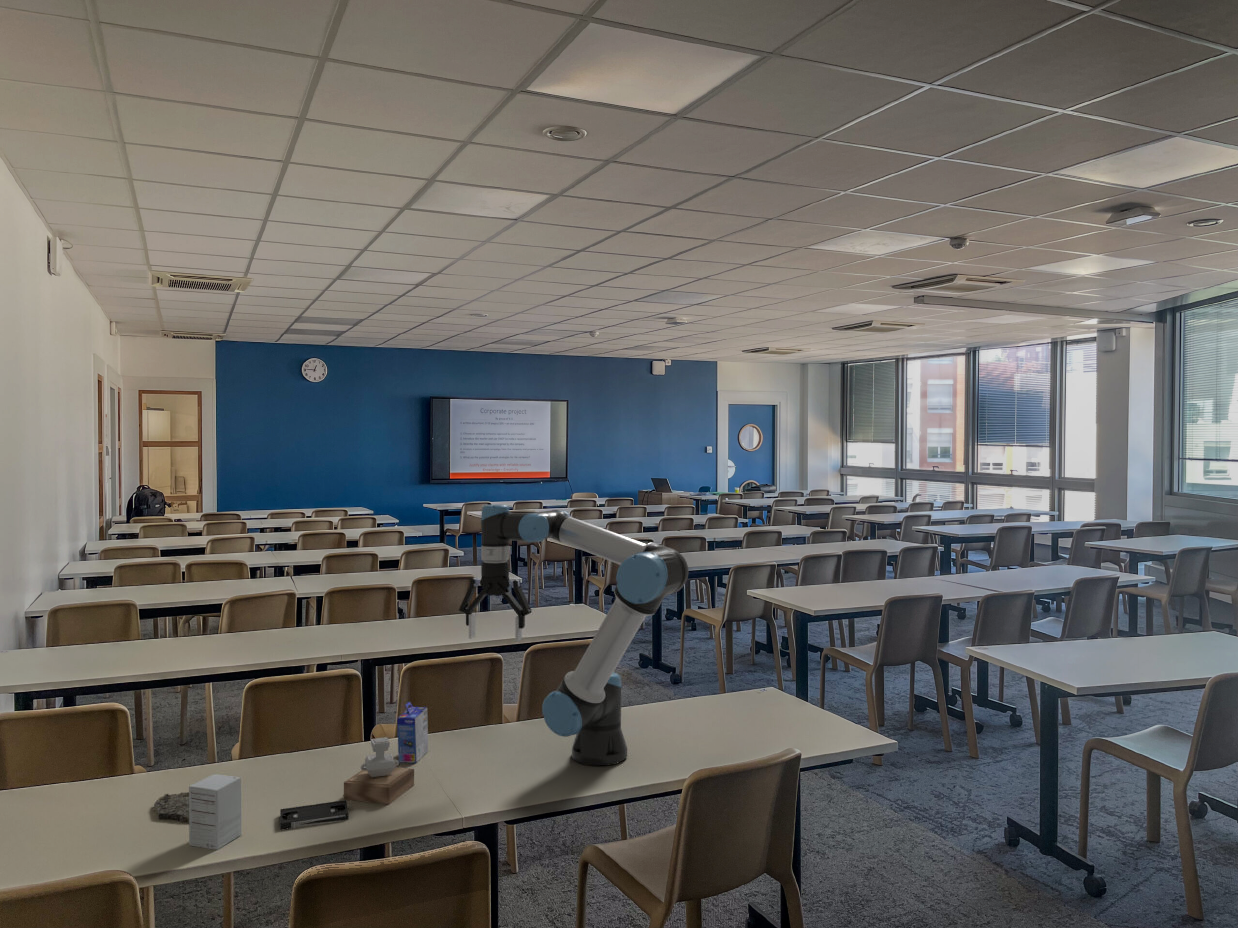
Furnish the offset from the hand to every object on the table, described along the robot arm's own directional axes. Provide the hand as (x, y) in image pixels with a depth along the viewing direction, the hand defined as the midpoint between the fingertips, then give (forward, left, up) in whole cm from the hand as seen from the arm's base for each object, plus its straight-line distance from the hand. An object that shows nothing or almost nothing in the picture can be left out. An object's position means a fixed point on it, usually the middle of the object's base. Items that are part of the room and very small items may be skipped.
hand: (495, 638), depth 229 cm
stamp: (+17, +31, -28) cm, 45 cm away
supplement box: (+37, +63, -32) cm, 80 cm away
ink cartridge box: (+21, +7, -32) cm, 39 cm away
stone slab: (+55, +52, -32) cm, 82 cm away
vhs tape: (+24, +48, -32) cm, 62 cm away
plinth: (+17, +31, -32) cm, 47 cm away
